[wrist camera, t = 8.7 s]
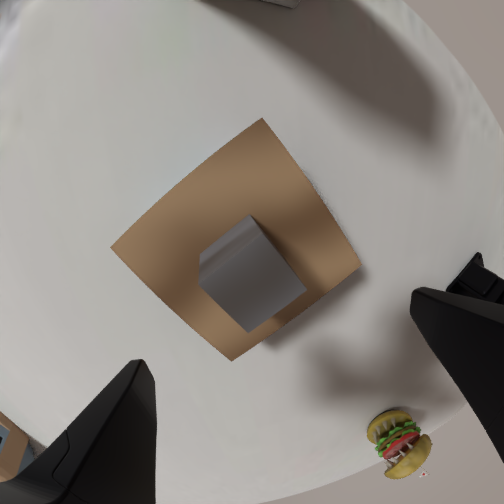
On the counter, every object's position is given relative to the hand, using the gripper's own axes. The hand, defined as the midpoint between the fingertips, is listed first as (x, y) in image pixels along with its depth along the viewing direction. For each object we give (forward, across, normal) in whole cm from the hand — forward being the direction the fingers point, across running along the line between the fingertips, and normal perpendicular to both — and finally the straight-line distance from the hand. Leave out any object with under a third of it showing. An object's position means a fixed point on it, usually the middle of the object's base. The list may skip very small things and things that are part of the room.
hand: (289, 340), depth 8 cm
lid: (+8, 0, 0) cm, 8 cm away
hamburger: (+12, -15, +31) cm, 36 cm away
